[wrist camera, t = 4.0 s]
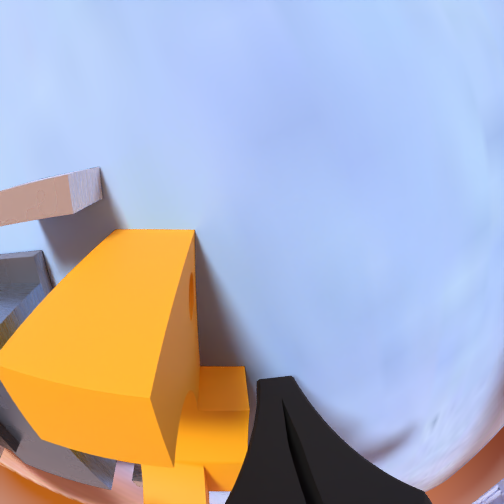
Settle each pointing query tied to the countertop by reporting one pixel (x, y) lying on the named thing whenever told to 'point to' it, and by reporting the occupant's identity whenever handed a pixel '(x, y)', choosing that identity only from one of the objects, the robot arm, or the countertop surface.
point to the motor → (22, 305)
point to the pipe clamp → (132, 369)
